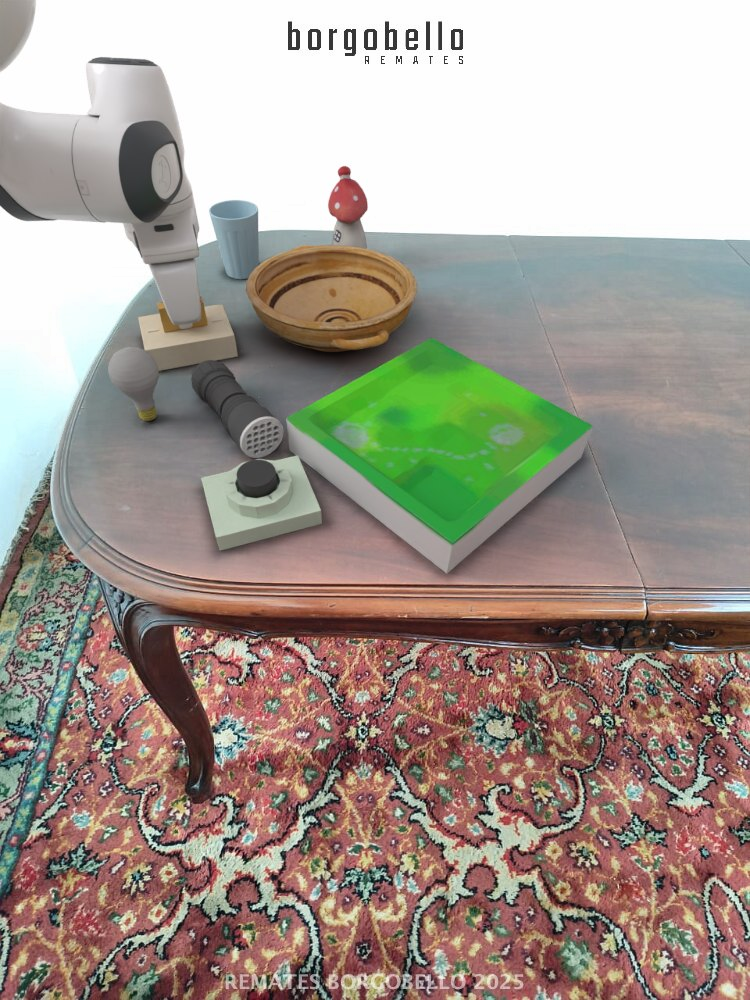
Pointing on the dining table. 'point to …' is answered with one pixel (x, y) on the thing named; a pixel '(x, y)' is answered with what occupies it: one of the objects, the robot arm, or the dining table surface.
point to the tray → (438, 448)
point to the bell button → (257, 478)
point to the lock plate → (189, 340)
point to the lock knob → (171, 327)
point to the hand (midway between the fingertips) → (184, 320)
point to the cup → (237, 236)
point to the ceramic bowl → (332, 296)
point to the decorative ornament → (348, 211)
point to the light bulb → (136, 378)
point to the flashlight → (237, 409)
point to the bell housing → (261, 505)
